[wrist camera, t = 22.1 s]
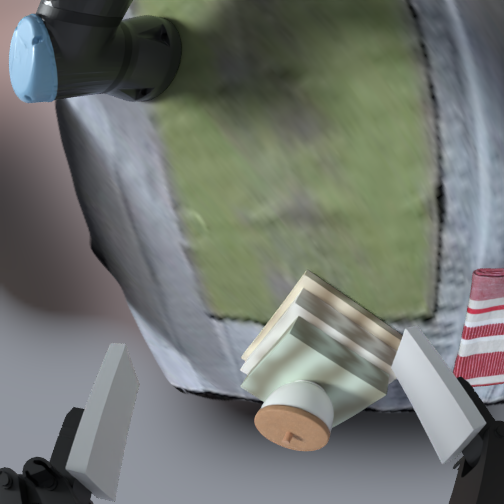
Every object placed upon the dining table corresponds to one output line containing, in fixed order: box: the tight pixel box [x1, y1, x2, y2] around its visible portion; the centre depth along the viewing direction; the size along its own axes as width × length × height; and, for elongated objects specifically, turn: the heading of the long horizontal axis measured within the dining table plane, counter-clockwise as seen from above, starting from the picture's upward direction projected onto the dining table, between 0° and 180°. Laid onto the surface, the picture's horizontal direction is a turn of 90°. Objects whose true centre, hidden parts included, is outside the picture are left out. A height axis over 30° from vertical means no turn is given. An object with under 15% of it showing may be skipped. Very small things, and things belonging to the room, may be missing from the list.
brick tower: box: [240, 270, 403, 427], centre depth 46 cm, size 22×24×10 cm
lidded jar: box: [255, 380, 334, 451], centre depth 38 cm, size 11×11×9 cm
